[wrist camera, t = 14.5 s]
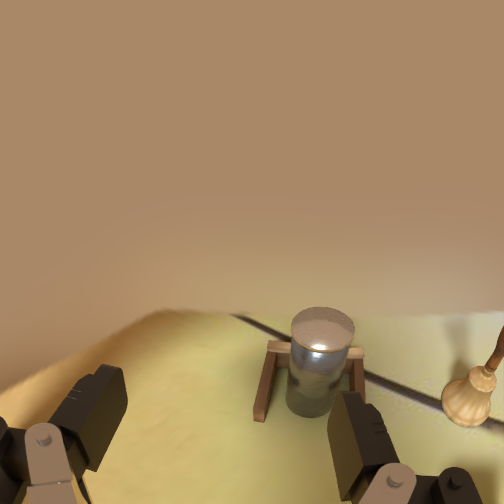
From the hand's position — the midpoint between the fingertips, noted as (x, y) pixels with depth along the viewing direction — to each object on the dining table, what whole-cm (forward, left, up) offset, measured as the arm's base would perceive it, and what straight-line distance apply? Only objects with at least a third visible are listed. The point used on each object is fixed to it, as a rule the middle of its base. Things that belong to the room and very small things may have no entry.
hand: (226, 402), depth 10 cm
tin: (+4, +17, -23) cm, 29 cm away
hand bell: (+26, +16, -23) cm, 39 cm away
